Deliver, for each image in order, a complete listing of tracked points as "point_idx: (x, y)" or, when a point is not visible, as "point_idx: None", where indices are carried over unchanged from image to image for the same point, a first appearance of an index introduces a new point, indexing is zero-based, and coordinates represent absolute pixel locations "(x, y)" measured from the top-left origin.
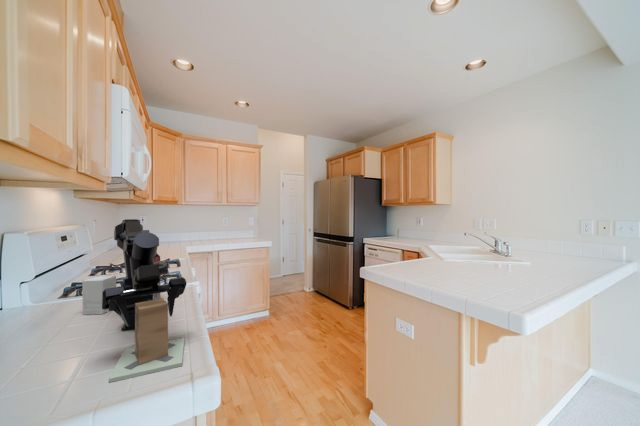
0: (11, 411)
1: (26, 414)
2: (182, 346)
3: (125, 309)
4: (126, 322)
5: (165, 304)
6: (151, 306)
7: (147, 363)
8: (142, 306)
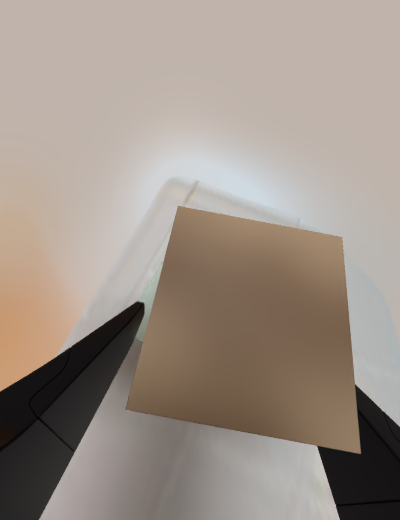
0: (385, 314)
1: (366, 287)
2: (150, 286)
3: (384, 429)
4: None
5: (192, 211)
6: (272, 231)
7: None
8: (317, 286)
